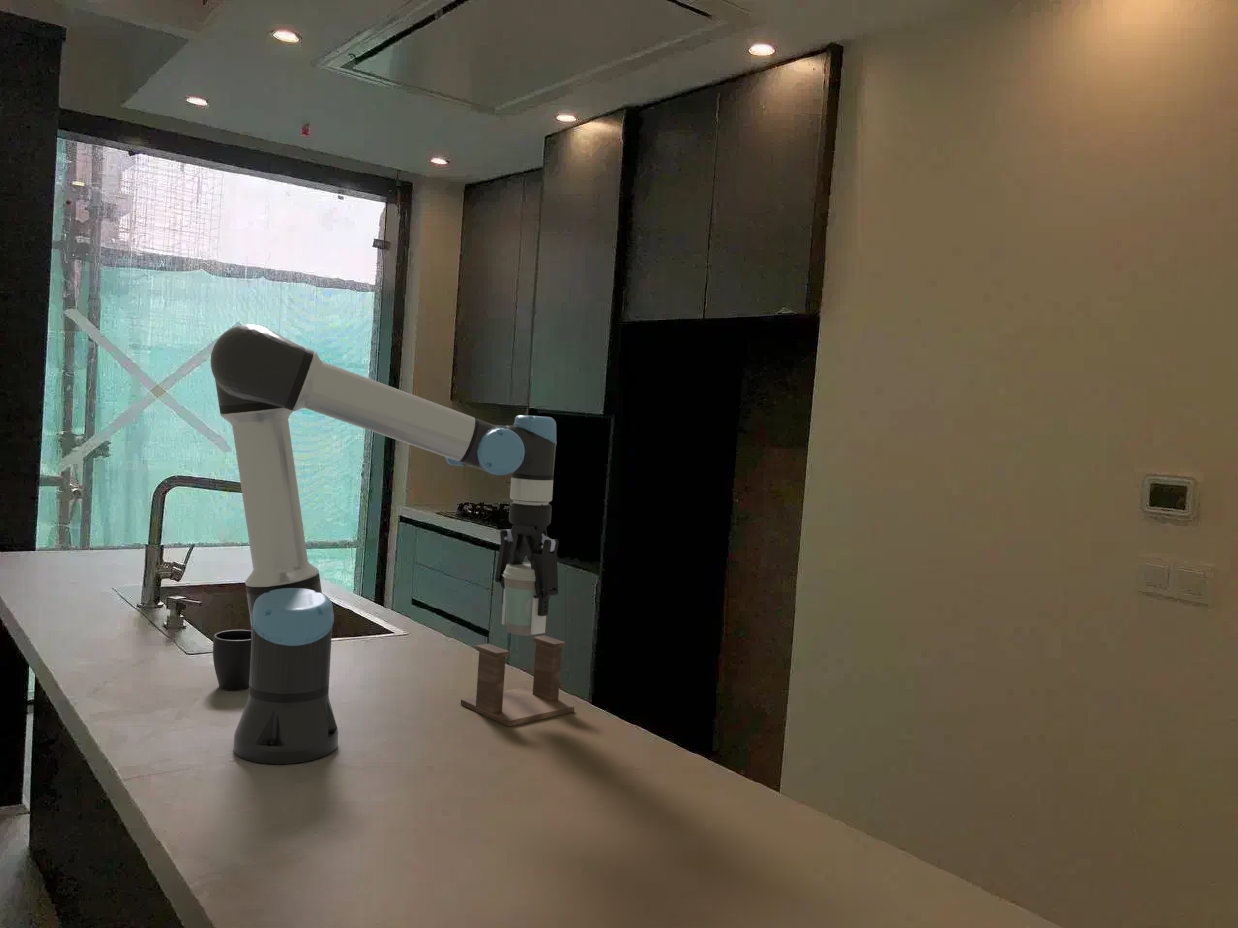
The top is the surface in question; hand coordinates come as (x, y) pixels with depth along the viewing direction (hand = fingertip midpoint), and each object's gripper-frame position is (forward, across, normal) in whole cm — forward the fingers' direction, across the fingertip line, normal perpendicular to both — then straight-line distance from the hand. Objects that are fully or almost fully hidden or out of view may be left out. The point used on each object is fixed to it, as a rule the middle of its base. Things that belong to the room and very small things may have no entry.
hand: (523, 628), depth 176 cm
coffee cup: (+1, 0, 0) cm, 1 cm away
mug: (+15, +37, +34) cm, 52 cm away
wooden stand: (+15, 0, 0) cm, 15 cm away
